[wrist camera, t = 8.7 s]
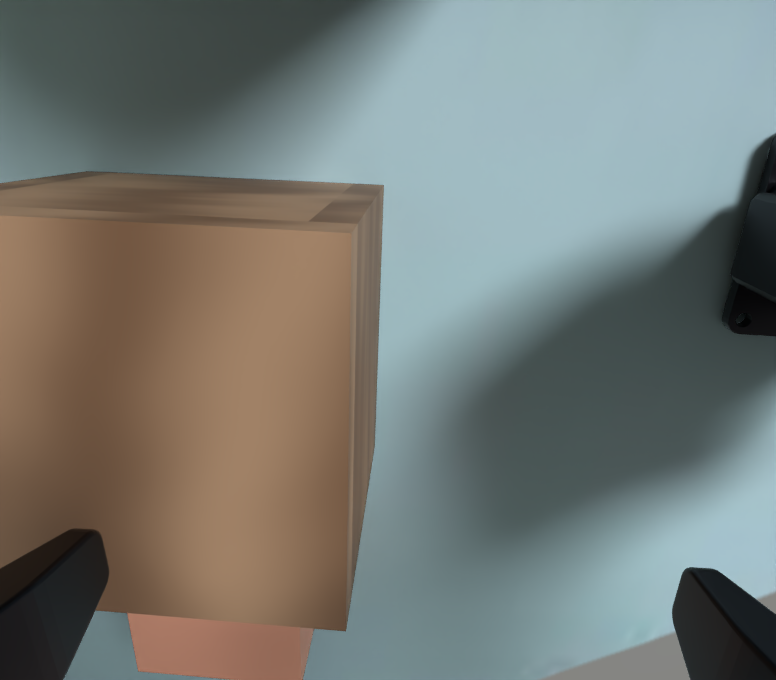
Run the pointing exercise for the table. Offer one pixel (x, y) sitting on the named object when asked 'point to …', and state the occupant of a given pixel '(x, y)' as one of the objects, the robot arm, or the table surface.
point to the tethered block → (219, 648)
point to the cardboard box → (192, 386)
